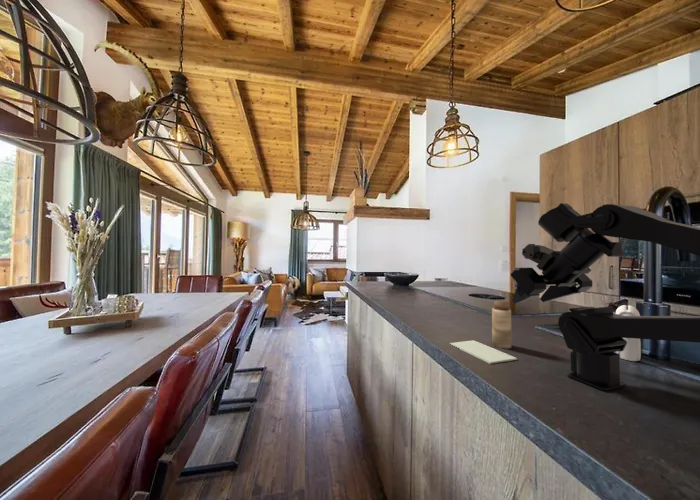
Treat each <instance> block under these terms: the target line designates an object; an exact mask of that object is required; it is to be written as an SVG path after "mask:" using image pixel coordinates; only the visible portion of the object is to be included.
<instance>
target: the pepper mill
mask: <svg viewBox="0 0 700 500" xmlns="http://www.w3.org/2000/svg"><path fill="white" fill-rule="evenodd" d="M491 329H492V330H491V336H492V337H491V341H492V343H491V344H492V346H494V347H495V348H499V349H507V350H508V349H512V309H510V302H509V301H505V300H494V301H493V307H492V308H491Z"/></svg>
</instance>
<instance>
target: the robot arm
mask: <svg viewBox="0 0 700 500" xmlns="http://www.w3.org/2000/svg"><path fill="white" fill-rule="evenodd" d="M537 222H538V223H537V224H538V225H539V226H540V228H542V229H543V230H544V231H545V232H546V233H547V234H548V235H549V236H550V237H551V238H553V240H555V241H556V242H558V243H561V242H562V243H563V242H566V245H565V246H564V247H563V248H562V249H561V250H554V249H551V248H550V247H547V246H545V245H541V244H535V243H528V244H526V245H525V247H524V248H522V252H521V254H522V257H523V258H525V259H526V260H530V261H532V262H534V263H535V264H536V268H537V269H539V270H540V271H541V274H539V273H538V272H537V271H536V270H535V269H534V268H533V267H515V268H514V269H513V270H512V271H511V272H510V277H512V279H513V280H514V281H515V283H516V288H515V291H514V293H513V297H512V300H511V301H512V303H513V304H514V305H517V304H520V303H522V302H525V301H529V300H530V299H533V298H536V297H539V296H540V294H542V293H543V294H542V295H541V297H540V298H539V299H540V300H541V302H542V303H544V302H548V301H552V300H557V299H560V298H561V299H562V298H564V297H569V296H572V295H576V294H581V292H583V293H584V292H588V291H589V290H590V289H591V288H592V287H593V280H592V279H591V278H590V277H589V276H588V275H587V274H589V273H590V272H592V269H591V268H590V267H592V265H593V264H595V263H596V262H597V261H599V259H601V258H602V257H603V256H604V255H605V256H607V257H609V258H615V257H618V258H620V257H623V256H624V251H623V248H622V246H623V243H622V242H621V241H620V242H619V241H611V240H610V239H609V238H608V237H611V238H619V239H625V240H633V241H643V242H648V243H649V242H650V243H654V244H657V245H660V246H663V247H667V248H670V249H674V250H678V251H680V252H685V253H689V254H693V255H696V256H699V257H700V227H698V226H695V225H691V224H684V223H680V222H676V221H673V220H670V219H668V218H665V217H663V216H660V215H658V214H657V213H654V212H651V211H648V210H646V209H642V207H641V208H640V207H637V206H634V205H624V204H612V203H611V204H609V203H606V204H603V205H602V204H601V205H600V206H598V207H597V208H595V209H594V210H593V211H592V212H589V213H586V214H580V213H579V211H576V210H575V209H574V208H573V207H572V205H571V204H568V203H564V202H561V203H559V204H558V205H557V206H556V207H554V208H553V207H552V208H551V209H550V210H548V211H547V212H545V213H543V214H542V215H541V216H540V217H539V219H538V221H537ZM548 286H549V287H548ZM547 287H548V288H547ZM568 310H569V311H565V312H562V313H561V314H560V316H559V318H558V320H557V321H558V322H557V323H558V328H559V330H560V332H561V334H562V337H563V340H564V341H565V342H564V343H565V345H566V348H567V349H570V350H571V351H570V352H569V353H570V357H569V358H570V364H569V365H570V372H569V373H566V374H567V377H568V378H571V379H574V380H576V381H578V382H581V383H584V384H586V385H589V386H591V387H594V388H596V389H597V390H601V391H611V390H615V389H620V388H623V387H627V383H626V382H624V381H621V358H620V354H618V353H617V351H624V349H625V347H626V345H627V342H626V340H624V339H623V338H637V339H640V340H653V341H669V342H670V341H671V342H684V343H685V342H686V343H687V342H688V343H699V344H700V315H696V316H695V315H640V316H623V315H618V314H615V312H614V307H613V306H612V305H611V306H602V307H601V306H599V307H595V306H584V307H573V308H569V309H568Z"/></svg>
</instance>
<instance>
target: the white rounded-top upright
mask: <svg viewBox="0 0 700 500" xmlns="http://www.w3.org/2000/svg"><path fill="white" fill-rule="evenodd" d="M614 314H618V315H623V316H641V314H640V312H639V310H638V309H637V308H636V307H634V306H633V305H626V304H623V305H620V306H618V307H617V309H616V310H615V312H614ZM623 339H624V340H626V342H627V345H626V347H625V349H624V351H617V352H616V353H618V354H620V360H621V359H622V360H625V361H631V362H637V361H638V362H639V361H640V360H641V356H642V346H641V345H642V344H641V339H637V338H623Z"/></svg>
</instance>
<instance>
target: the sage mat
mask: <svg viewBox="0 0 700 500" xmlns="http://www.w3.org/2000/svg"><path fill="white" fill-rule="evenodd" d="M450 344H451V345H450ZM449 345H450V346H452V345H453V347H454V346H455V348H456V347H457V348H456V349H458V348H459V350H461V351H462V352H465V353H467V354H469V355H471V356H473V357H475V358H477V359H479V360H481V361H484V362H486V363H487V364H489V365H493V364H498V363H505V362H511V361H517V360H518V358H517V357H515V356H513V355H510V354H509V353H505V352H503V351H501V350H498V349H496V348H493V347H491V346H488V345H486V344H484V343H481V342H478V341H476V340H474V339H473V340H464V341H457V342H456V341H455V342H449Z"/></svg>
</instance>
